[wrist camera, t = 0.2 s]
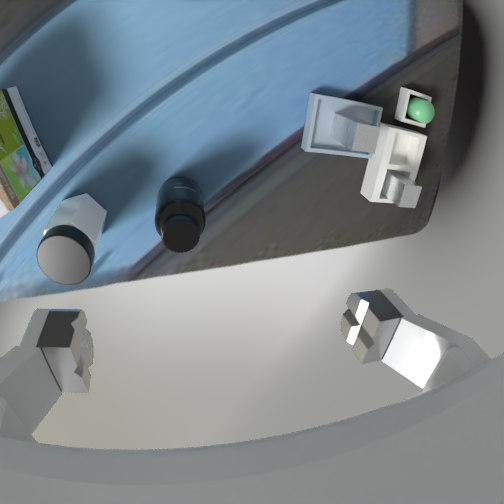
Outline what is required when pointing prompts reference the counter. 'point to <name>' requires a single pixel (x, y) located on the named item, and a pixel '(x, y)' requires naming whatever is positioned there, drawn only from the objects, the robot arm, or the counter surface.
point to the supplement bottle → (180, 214)
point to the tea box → (18, 152)
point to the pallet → (392, 159)
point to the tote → (322, 119)
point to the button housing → (403, 106)
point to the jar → (72, 240)
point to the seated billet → (401, 189)
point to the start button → (420, 110)
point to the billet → (355, 133)
